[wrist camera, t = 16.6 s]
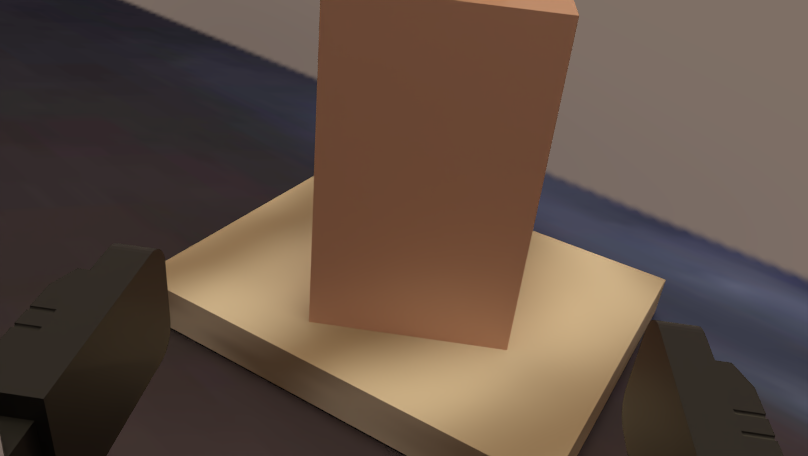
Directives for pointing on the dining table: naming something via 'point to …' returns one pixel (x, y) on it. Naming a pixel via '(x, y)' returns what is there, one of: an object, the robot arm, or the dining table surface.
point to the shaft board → (418, 341)
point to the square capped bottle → (432, 160)
